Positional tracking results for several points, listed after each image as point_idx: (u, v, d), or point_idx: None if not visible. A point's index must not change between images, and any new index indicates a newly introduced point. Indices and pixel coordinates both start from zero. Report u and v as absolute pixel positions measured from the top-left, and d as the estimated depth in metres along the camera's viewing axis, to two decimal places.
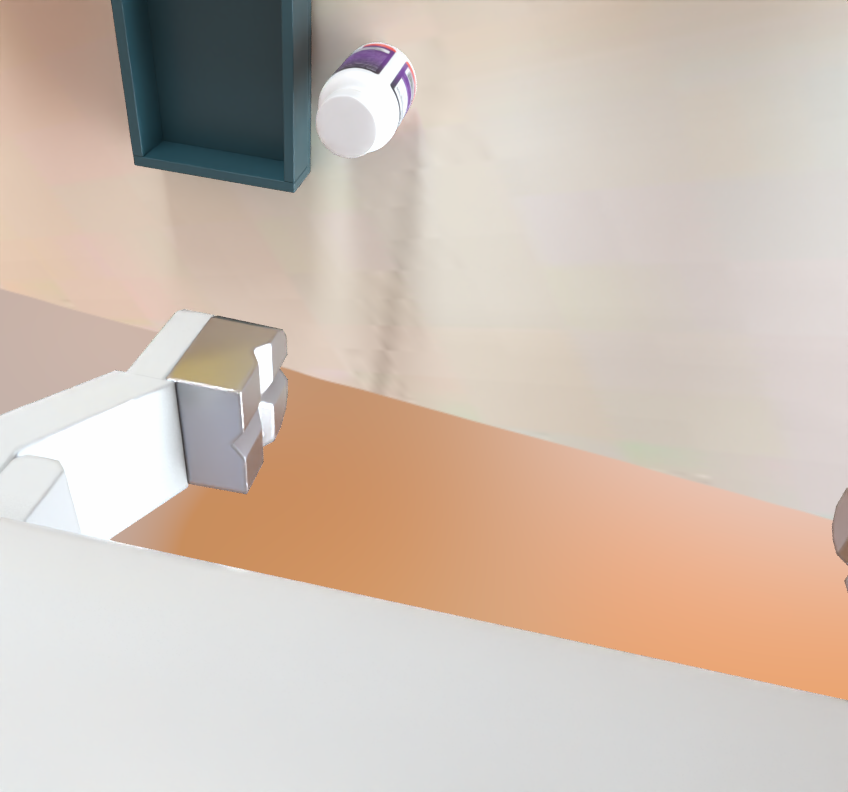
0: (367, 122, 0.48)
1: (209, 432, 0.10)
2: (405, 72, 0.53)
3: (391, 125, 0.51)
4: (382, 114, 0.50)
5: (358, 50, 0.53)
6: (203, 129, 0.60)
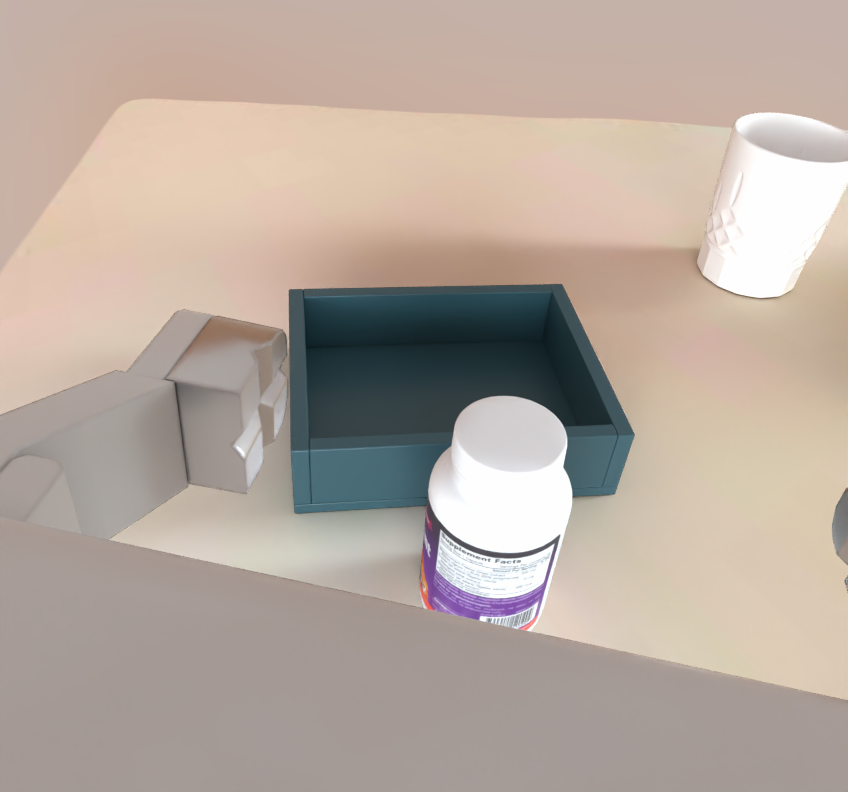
0: (535, 459, 0.26)
1: (209, 432, 0.10)
2: (537, 602, 0.31)
3: (508, 530, 0.27)
4: (526, 510, 0.27)
5: None
6: (334, 385, 0.43)
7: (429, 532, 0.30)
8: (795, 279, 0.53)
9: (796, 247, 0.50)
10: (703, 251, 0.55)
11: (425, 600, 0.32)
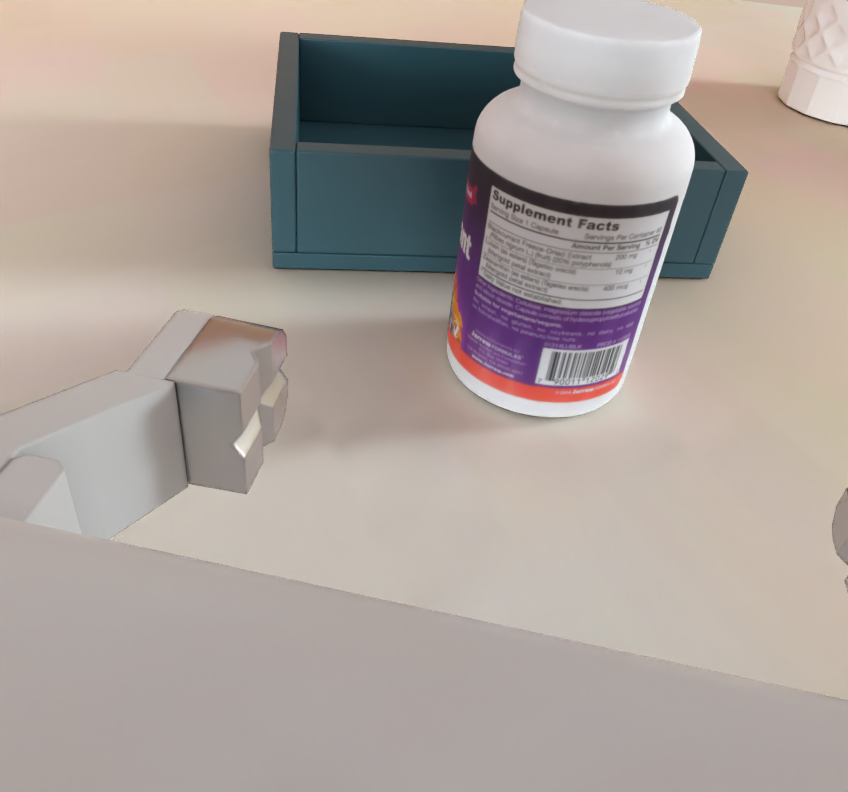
0: (656, 33, 0.16)
1: (209, 432, 0.10)
2: (627, 341, 0.20)
3: (605, 160, 0.17)
4: (633, 137, 0.17)
5: None
6: None
7: (471, 212, 0.19)
8: None
9: None
10: (788, 76, 0.45)
11: (456, 349, 0.22)
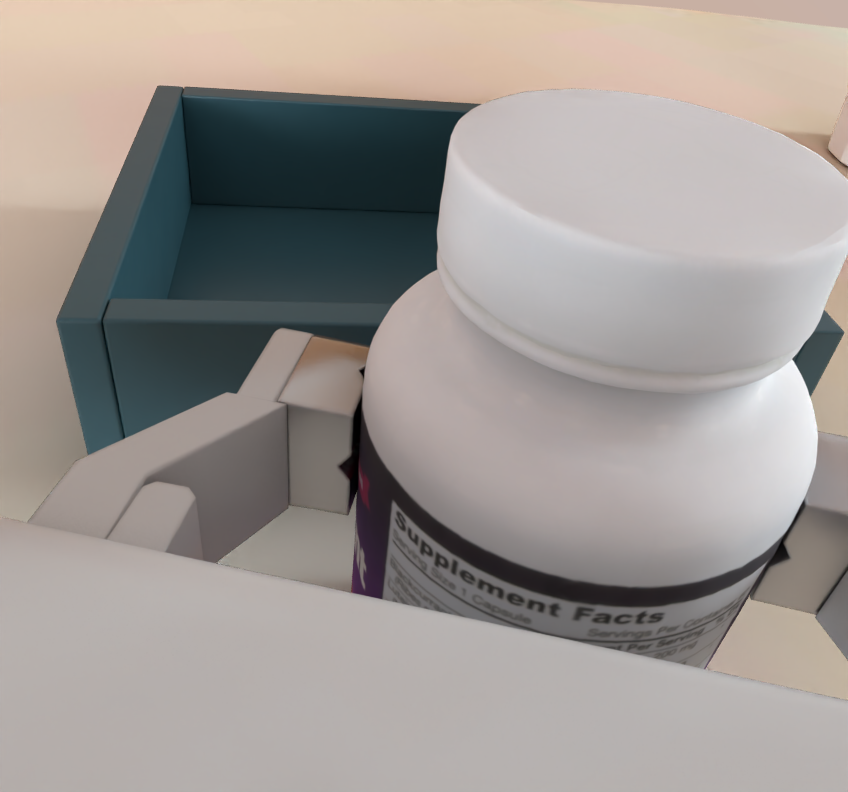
0: (765, 223, 0.07)
1: (316, 454, 0.10)
2: None
3: (636, 502, 0.07)
4: (698, 435, 0.08)
5: None
6: (229, 259, 0.23)
7: (363, 515, 0.10)
8: None
9: None
10: (843, 125, 0.35)
11: None
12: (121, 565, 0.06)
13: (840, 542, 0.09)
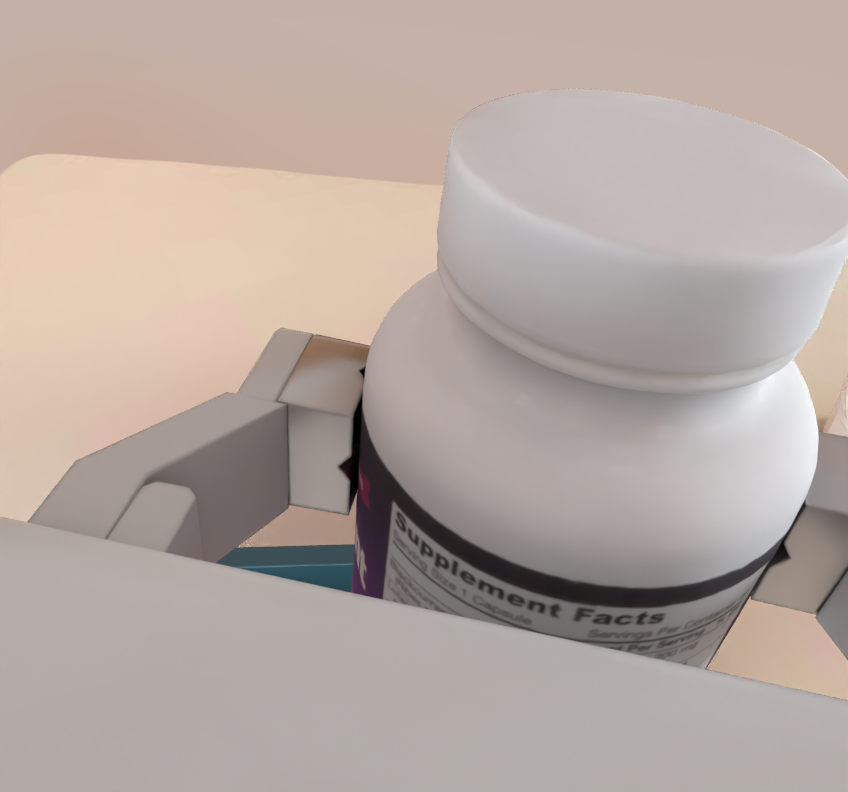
0: (766, 224, 0.07)
1: (316, 454, 0.10)
2: None
3: (636, 505, 0.07)
4: (699, 436, 0.08)
5: None
6: None
7: (363, 516, 0.10)
8: None
9: None
10: None
11: None
12: (121, 565, 0.06)
13: (840, 542, 0.09)
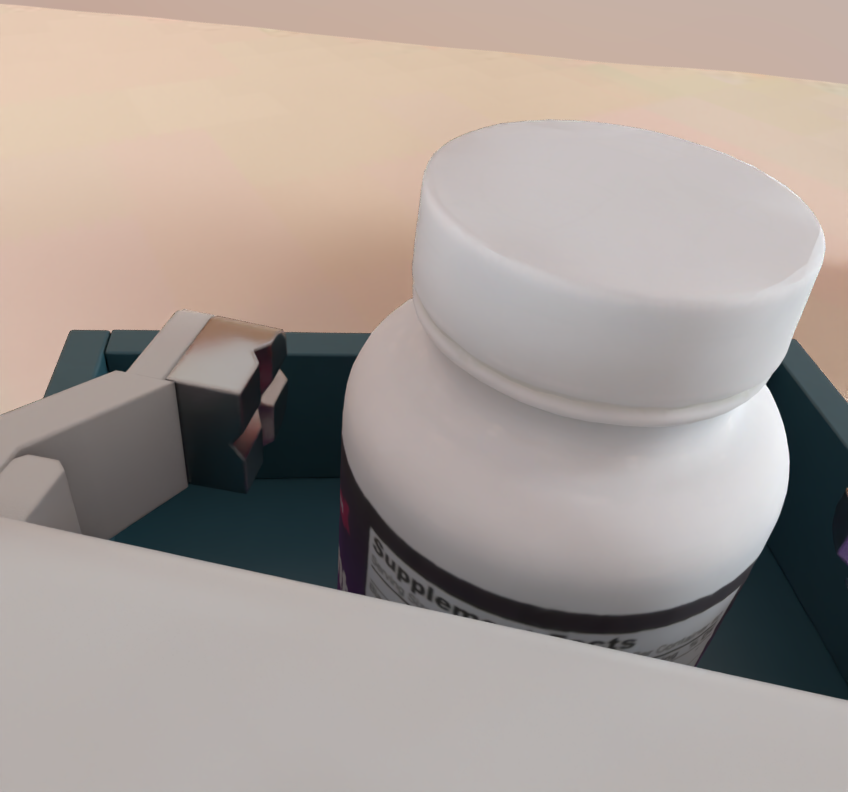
0: (729, 262, 0.07)
1: (209, 432, 0.10)
2: None
3: (604, 534, 0.07)
4: (668, 465, 0.08)
5: None
6: None
7: (344, 538, 0.10)
8: None
9: None
10: None
11: None
12: (121, 565, 0.06)
13: None
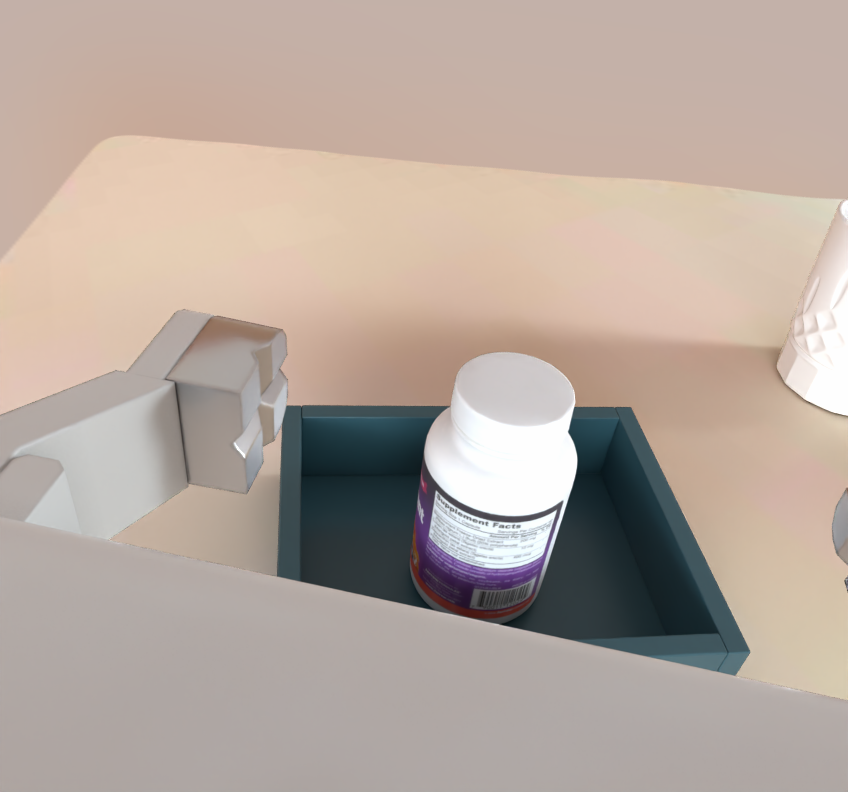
0: (541, 414, 0.25)
1: (209, 432, 0.10)
2: (535, 578, 0.29)
3: (508, 490, 0.25)
4: (529, 470, 0.26)
5: None
6: (336, 535, 0.33)
7: (423, 496, 0.28)
8: None
9: None
10: (787, 356, 0.45)
11: (415, 573, 0.30)
12: (121, 565, 0.06)
13: None
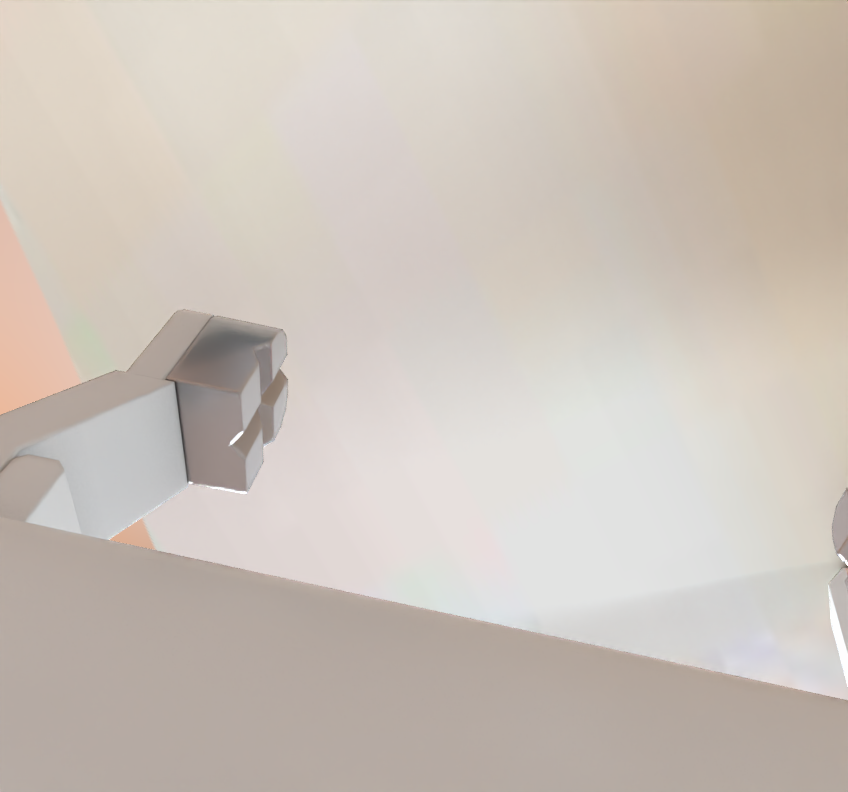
0: None
1: (209, 432, 0.10)
2: None
3: None
4: None
5: None
6: None
7: None
8: None
9: None
10: None
11: None
12: (121, 565, 0.06)
13: None
